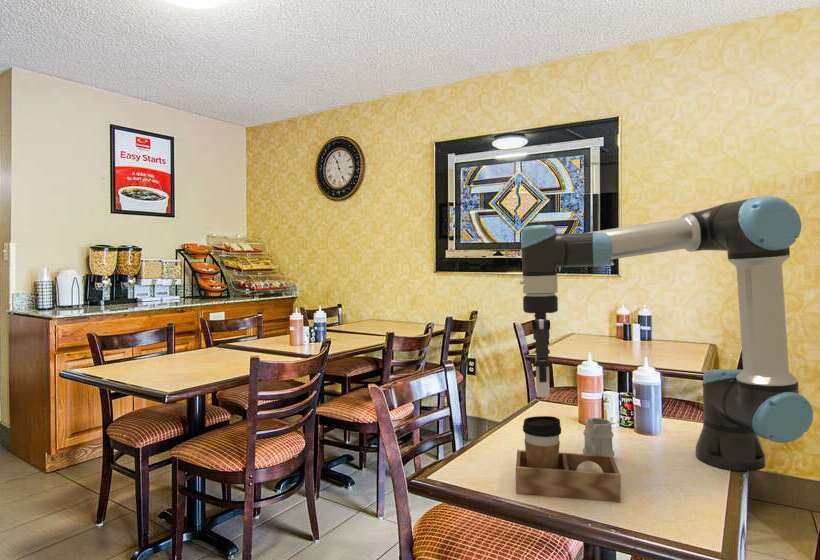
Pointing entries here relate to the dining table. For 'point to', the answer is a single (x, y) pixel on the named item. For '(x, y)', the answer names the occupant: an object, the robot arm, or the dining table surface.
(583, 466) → the beige ball
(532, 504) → the dining table surface
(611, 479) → the caddy
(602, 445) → the mug
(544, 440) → the coffee cup
